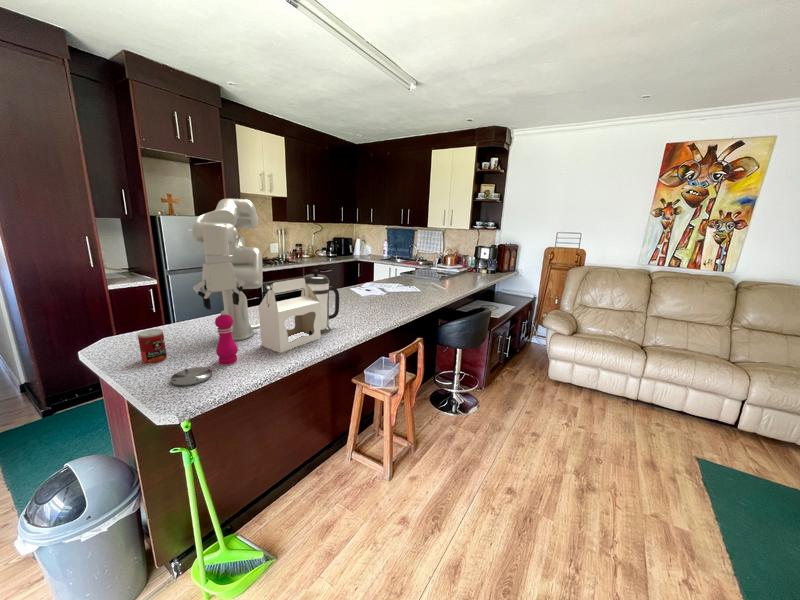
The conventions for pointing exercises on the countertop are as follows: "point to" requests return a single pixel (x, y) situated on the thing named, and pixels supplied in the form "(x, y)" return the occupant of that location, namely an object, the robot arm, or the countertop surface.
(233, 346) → the pepper mill
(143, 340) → the canned food
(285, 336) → the gable box
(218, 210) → the robot arm
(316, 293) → the coffee press
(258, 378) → the countertop surface
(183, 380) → the grey metal disc
